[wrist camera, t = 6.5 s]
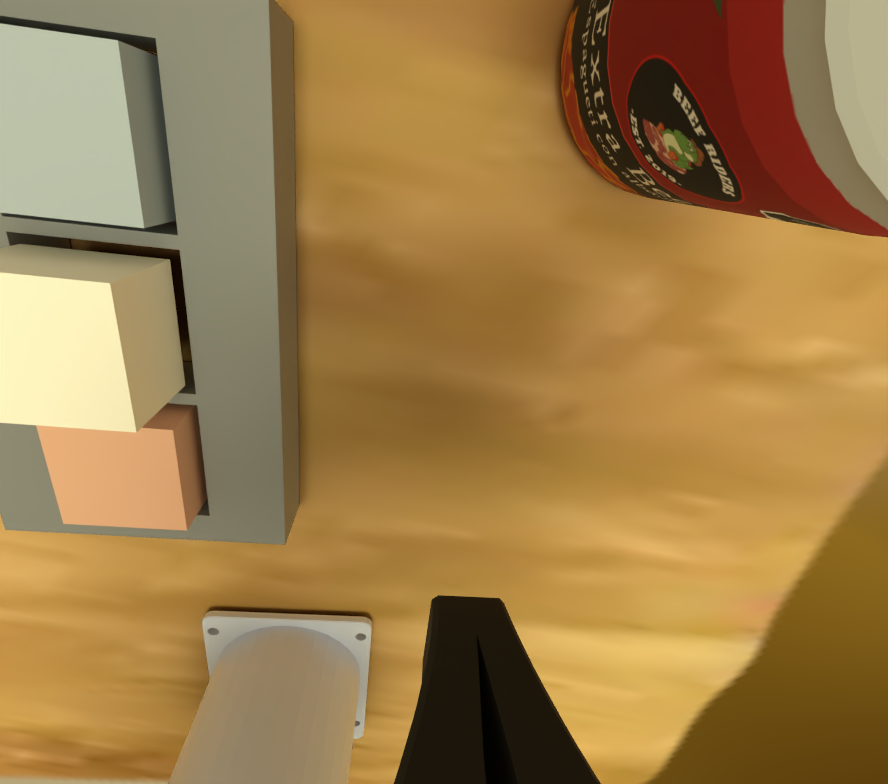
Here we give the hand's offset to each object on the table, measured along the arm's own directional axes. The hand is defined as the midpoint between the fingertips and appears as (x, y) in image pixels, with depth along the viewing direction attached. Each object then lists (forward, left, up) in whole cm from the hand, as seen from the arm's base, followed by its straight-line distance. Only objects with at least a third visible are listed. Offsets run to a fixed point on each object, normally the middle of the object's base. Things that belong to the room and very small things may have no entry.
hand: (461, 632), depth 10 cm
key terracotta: (-2, +11, -10) cm, 14 cm away
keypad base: (+3, +11, -10) cm, 15 cm away
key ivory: (+3, +11, -8) cm, 13 cm away
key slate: (+8, +11, -10) cm, 16 cm away
